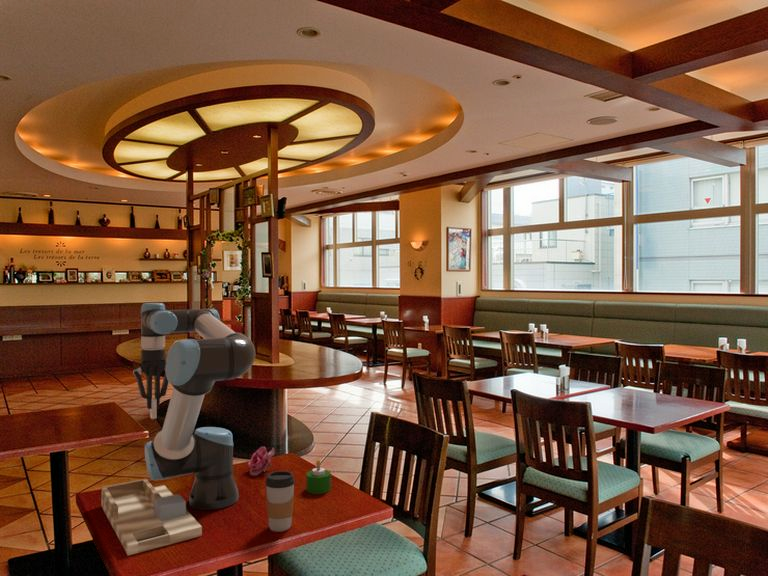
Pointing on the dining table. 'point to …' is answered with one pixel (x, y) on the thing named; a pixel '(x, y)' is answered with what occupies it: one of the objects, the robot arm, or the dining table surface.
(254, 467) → the flower
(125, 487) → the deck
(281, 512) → the coffee cup
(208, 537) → the dining table surface
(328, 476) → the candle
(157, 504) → the slate block
